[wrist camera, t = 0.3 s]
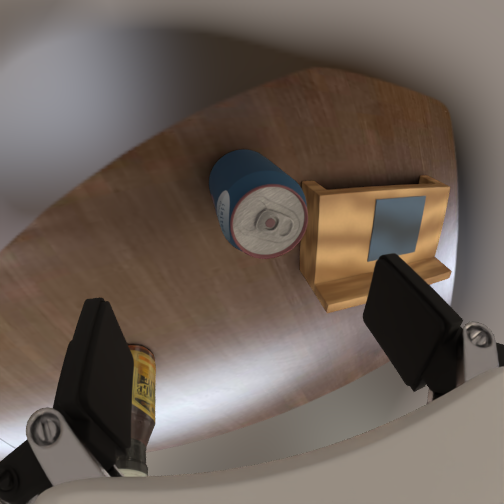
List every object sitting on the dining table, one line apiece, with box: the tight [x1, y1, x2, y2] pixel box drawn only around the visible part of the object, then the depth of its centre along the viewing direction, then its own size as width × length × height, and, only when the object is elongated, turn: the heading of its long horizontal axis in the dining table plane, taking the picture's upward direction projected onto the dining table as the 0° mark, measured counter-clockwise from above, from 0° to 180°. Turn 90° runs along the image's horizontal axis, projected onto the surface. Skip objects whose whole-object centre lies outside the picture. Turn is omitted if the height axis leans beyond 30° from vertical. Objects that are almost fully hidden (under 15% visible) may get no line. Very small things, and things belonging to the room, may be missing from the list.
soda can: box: [209, 150, 308, 259], centre depth 26 cm, size 7×7×12 cm
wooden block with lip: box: [299, 175, 452, 313], centre depth 33 cm, size 12×20×9 cm, turn 93°
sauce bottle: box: [115, 345, 156, 477], centre depth 32 cm, size 7×6×20 cm
